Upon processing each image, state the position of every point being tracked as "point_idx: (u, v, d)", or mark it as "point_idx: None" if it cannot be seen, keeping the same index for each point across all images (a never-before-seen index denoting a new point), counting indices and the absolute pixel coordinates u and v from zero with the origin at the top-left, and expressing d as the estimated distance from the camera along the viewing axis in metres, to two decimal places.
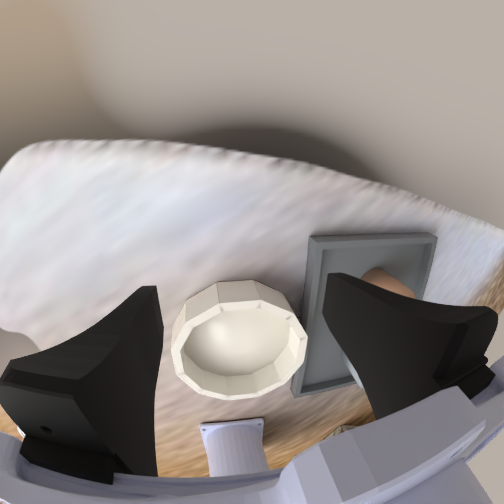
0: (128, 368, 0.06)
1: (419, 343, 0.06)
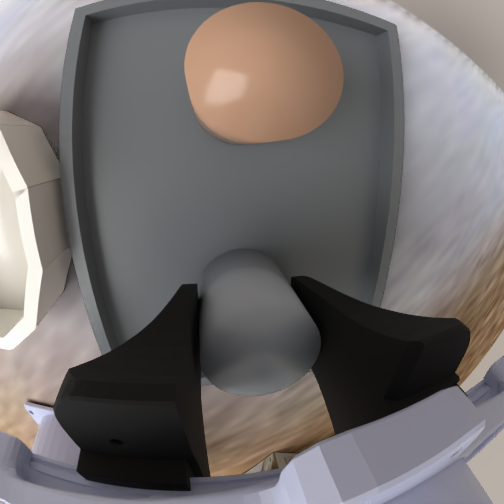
0: (190, 367, 0.06)
1: (371, 359, 0.06)
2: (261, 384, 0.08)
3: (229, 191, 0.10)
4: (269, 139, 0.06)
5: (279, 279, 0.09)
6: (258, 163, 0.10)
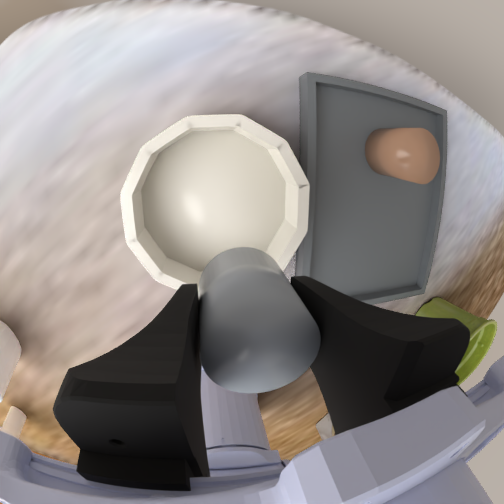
0: (190, 367, 0.06)
1: (371, 358, 0.06)
2: (262, 382, 0.08)
3: (377, 197, 0.20)
4: (421, 183, 0.15)
5: (277, 276, 0.09)
6: (388, 184, 0.19)
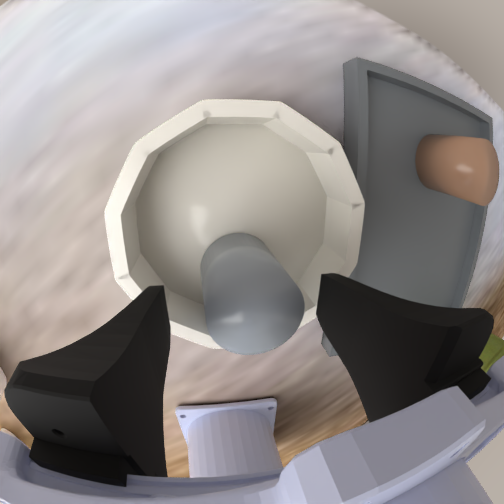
0: (139, 368, 0.06)
1: (411, 346, 0.06)
2: (258, 343, 0.11)
3: (424, 215, 0.15)
4: (482, 205, 0.11)
5: (266, 254, 0.11)
6: (436, 200, 0.15)
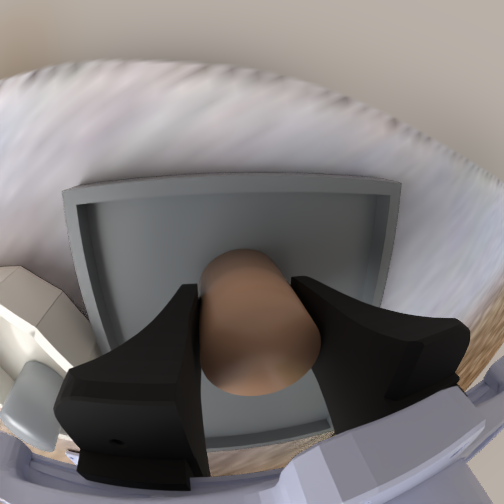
0: (190, 367, 0.06)
1: (371, 358, 0.06)
2: (39, 446, 0.08)
3: None
4: None
5: (29, 392, 0.09)
6: None
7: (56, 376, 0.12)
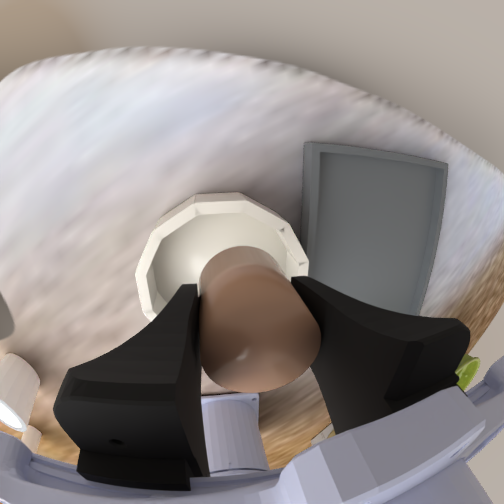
0: (190, 367, 0.06)
1: (371, 358, 0.06)
2: None
3: (372, 255, 0.21)
4: None
5: None
6: (384, 242, 0.21)
7: None
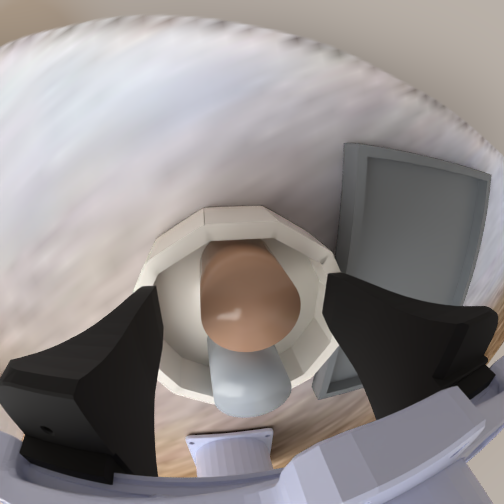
0: (128, 368, 0.06)
1: (419, 343, 0.06)
2: (258, 409, 0.12)
3: (411, 280, 0.17)
4: (251, 351, 0.11)
5: None
6: (424, 265, 0.17)
7: None
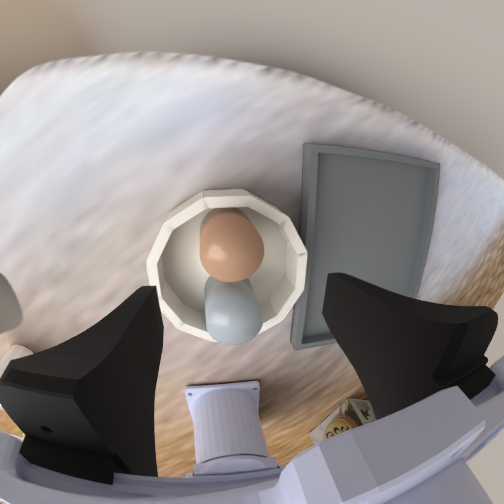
0: (128, 368, 0.06)
1: (419, 343, 0.06)
2: (240, 337, 0.18)
3: (367, 249, 0.23)
4: (232, 281, 0.17)
5: (237, 284, 0.19)
6: (378, 237, 0.23)
7: None
